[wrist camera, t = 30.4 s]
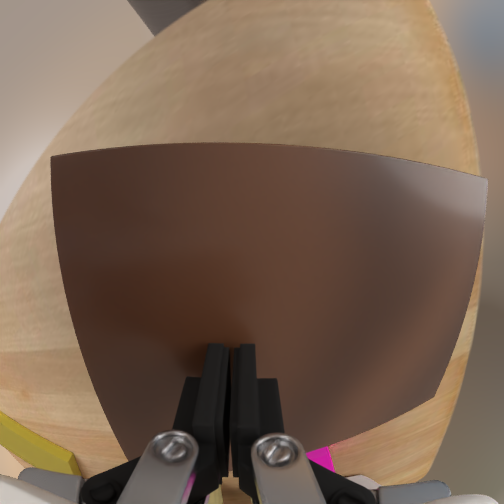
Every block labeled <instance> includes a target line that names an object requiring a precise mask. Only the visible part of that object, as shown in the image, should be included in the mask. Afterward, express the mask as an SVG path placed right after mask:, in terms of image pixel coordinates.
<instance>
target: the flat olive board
mask: <svg viewBox="0 0 504 504" xmlns="http://www.w3.org/2000/svg"><path fill="white" fill-rule="evenodd" d="M0 444H1V445H2V446H3V447H5V448H6V449H8V450H9V451H11V452H12V453H14V454H15V455H17V456H18V457H20V458H21V459H23V460H24V461H26V462H28V463H29V464H31V465H33V466H34V467H36V468H39V469H44V470H49V471H54V472H59V473H65V474H72V475H79V476H82V475H81V472H80V470H79V468H78V465H77V463H76V460H75V457H74V455H73V453H72V452H70V451H68V450H66V449H64V448H62V447H60V446H58V445H56V444H54V443H52V442H50V441H48V440H46V439H44V438H43V437H41V436H39V435H37V434H35V433H34V432H32V431H30V430H29V429H27V428H25V427H24V426H22V425H20V424H19V423H17V422H16V421H14V420H13V419H11V418H10V417H8V416H7V415H5V414H4V413H2V412H1V411H0Z"/></svg>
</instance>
